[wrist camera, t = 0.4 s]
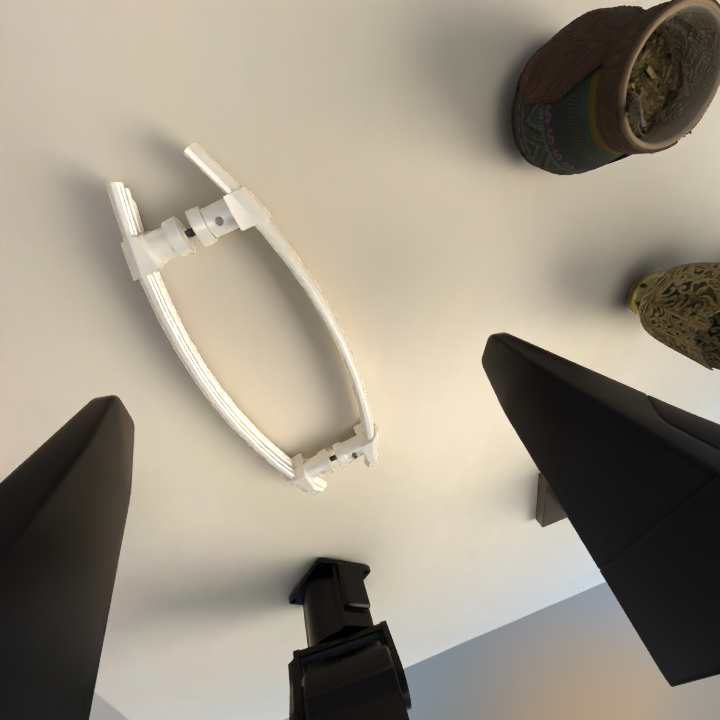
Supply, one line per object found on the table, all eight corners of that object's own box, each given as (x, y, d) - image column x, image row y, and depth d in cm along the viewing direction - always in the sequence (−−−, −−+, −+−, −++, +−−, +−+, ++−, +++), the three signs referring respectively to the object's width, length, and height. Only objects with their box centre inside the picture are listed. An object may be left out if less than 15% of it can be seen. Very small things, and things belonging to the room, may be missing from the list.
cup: (612, 257, 29) (727, 283, 22) (687, 237, 30) (818, 256, 23) (597, 340, 32) (691, 384, 25) (664, 319, 33) (771, 356, 26)
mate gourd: (610, 117, 23) (818, 82, 15) (521, 204, 24) (667, 218, 16) (570, 0, 20) (814, -136, 11) (468, 107, 21) (620, 58, 12)
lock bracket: (535, 519, 43) (576, 568, 37) (539, 473, 39) (585, 521, 34) (606, 490, 44) (655, 534, 39) (616, 443, 40) (673, 484, 35)
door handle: (246, 124, 19) (394, 443, 31) (69, 204, 18) (293, 494, 31) (245, 116, 16) (406, 464, 29) (42, 208, 16) (296, 520, 28)
